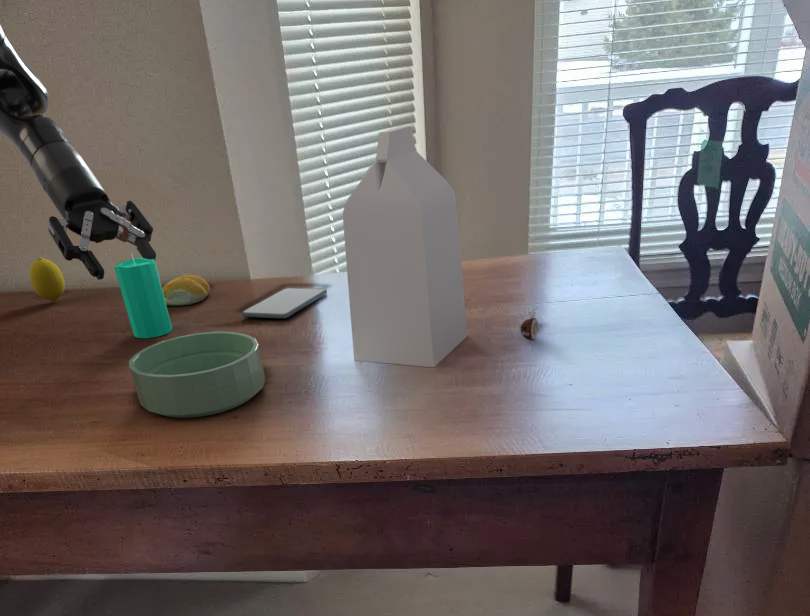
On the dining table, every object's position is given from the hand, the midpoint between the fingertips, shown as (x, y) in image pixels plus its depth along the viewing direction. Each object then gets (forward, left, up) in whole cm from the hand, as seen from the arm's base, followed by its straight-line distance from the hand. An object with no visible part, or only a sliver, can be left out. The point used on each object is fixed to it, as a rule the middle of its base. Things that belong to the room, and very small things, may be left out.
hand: (128, 269), depth 111 cm
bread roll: (+15, +6, -9) cm, 18 cm away
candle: (0, -3, -9) cm, 10 cm away
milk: (+9, -46, -9) cm, 47 cm away
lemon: (+5, +31, -9) cm, 33 cm away
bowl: (-15, -31, -9) cm, 36 cm away
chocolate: (+18, -59, -9) cm, 62 cm away
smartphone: (+18, -15, -9) cm, 25 cm away
